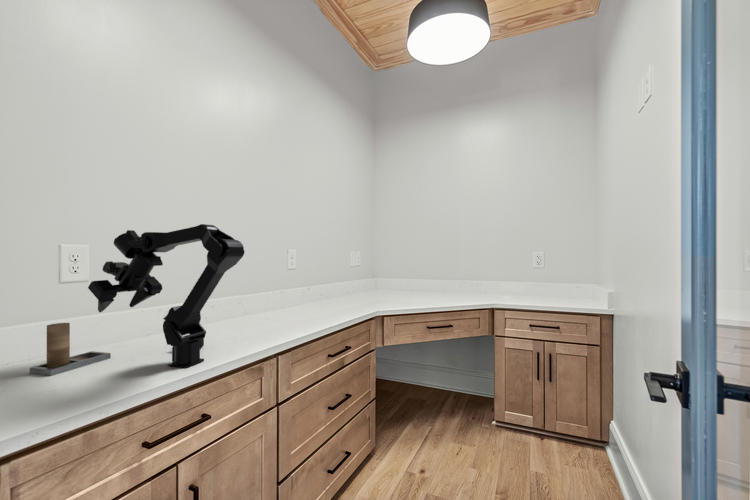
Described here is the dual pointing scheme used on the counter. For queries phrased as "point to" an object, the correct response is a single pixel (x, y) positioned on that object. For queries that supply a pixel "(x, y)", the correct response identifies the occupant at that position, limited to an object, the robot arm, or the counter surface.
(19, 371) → the counter surface
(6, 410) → the counter surface
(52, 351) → the post
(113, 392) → the counter surface
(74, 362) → the grey divided tray
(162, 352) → the counter surface
